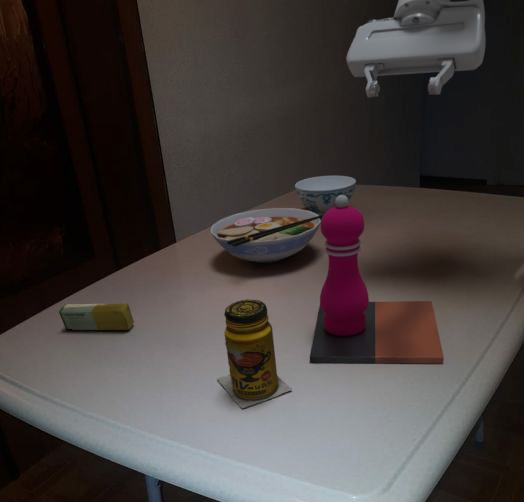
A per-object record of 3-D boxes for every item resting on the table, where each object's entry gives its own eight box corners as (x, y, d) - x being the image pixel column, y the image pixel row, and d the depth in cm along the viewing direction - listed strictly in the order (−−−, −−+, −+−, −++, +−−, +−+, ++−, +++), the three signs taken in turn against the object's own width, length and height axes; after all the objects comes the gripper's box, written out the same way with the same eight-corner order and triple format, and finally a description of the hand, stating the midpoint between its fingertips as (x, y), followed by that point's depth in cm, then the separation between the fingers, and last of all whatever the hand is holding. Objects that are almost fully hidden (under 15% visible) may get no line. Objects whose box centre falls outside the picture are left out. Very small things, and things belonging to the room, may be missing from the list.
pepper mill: (354, 342, 80) (351, 204, 71) (311, 331, 84) (304, 199, 75) (377, 322, 85) (378, 190, 75) (336, 312, 89) (332, 186, 79)
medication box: (65, 331, 95) (57, 311, 93) (72, 322, 97) (64, 303, 95) (129, 330, 92) (122, 310, 90) (135, 322, 95) (129, 301, 92)
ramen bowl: (284, 231, 132) (281, 197, 128) (349, 254, 115) (348, 215, 111) (191, 260, 120) (185, 223, 116) (248, 289, 103) (243, 247, 99)
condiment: (242, 409, 70) (230, 324, 64) (216, 379, 77) (204, 300, 71) (292, 391, 73) (286, 308, 67) (263, 364, 79) (255, 286, 73)
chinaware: (365, 215, 137) (365, 183, 133) (308, 225, 134) (306, 193, 130) (342, 202, 150) (341, 172, 146) (289, 211, 147) (287, 181, 143)
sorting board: (431, 306, 90) (431, 300, 90) (443, 363, 75) (443, 357, 74) (320, 307, 94) (320, 302, 93) (310, 362, 78) (309, 356, 78)
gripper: (354, 6, 87) (330, 82, 85) (492, -12, 77) (469, 74, 75) (365, 37, 92) (342, 109, 90) (495, 24, 82) (474, 105, 80)
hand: (401, 93), depth 82 cm, fingers open, 8 cm apart
